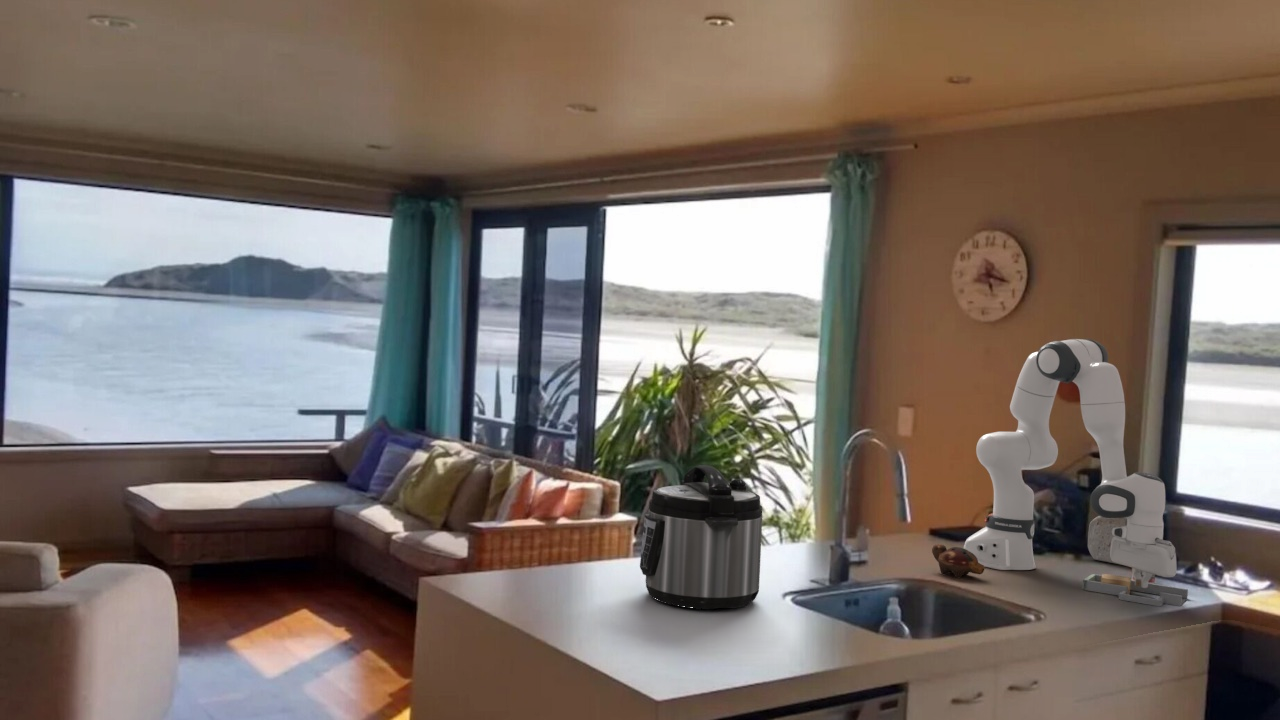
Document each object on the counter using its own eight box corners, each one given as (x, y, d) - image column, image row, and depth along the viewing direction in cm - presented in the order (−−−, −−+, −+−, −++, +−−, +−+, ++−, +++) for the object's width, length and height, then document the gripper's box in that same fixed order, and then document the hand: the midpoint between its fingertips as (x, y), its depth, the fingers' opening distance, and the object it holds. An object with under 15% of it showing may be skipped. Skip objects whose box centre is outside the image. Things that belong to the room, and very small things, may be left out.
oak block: (1100, 592, 302) (1101, 577, 302) (1101, 588, 307) (1102, 573, 307) (1128, 596, 299) (1129, 581, 299) (1130, 592, 304) (1131, 577, 304)
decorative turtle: (934, 568, 321) (938, 540, 321) (987, 580, 313) (992, 552, 312) (922, 571, 313) (926, 542, 313) (976, 584, 305) (981, 555, 304)
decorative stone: (1162, 569, 339) (1148, 573, 332) (1097, 555, 353) (1083, 559, 346) (1167, 513, 338) (1153, 516, 331) (1101, 502, 352) (1087, 505, 345)
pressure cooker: (665, 578, 289) (672, 454, 288) (772, 594, 279) (780, 465, 278) (619, 603, 261) (627, 466, 260) (737, 621, 251) (746, 479, 250)
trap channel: (1078, 592, 300) (1078, 583, 299) (1091, 582, 313) (1092, 573, 313) (1177, 609, 286) (1178, 599, 286) (1187, 598, 299) (1188, 589, 299)
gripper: (1184, 542, 291) (1180, 596, 292) (1126, 527, 311) (1122, 577, 311) (1165, 542, 289) (1161, 596, 290) (1107, 527, 308) (1104, 578, 309)
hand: (1141, 586), depth 300 cm, fingers closed
